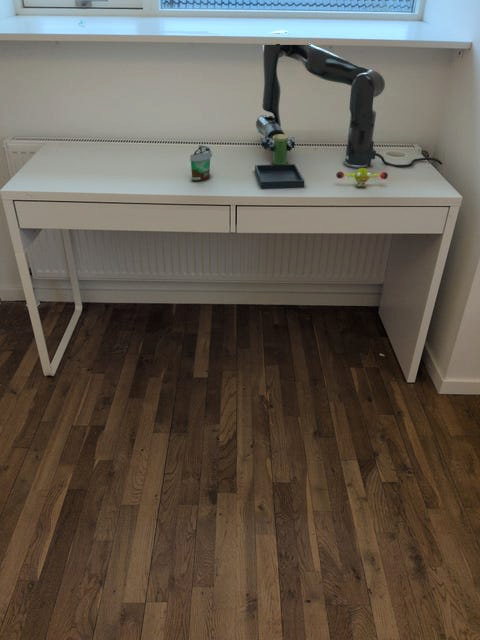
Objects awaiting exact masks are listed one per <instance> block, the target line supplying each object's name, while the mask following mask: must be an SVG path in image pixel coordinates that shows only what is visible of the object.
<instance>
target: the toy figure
mask: <svg viewBox="0 0 480 640" xmlns="http://www.w3.org/2000/svg"><path fill="white" fill-rule="evenodd" d="M344 177H347V178H353V179H354V180H355V182H356V183H357V185H356V187H357V188H360V184H361V188H365V184H366V183H367V182H368V181H369V179H371V178H377V177H380V179H381V180H386V179H388V177H389V174H388V173H387V172H386V171H383V172H381V173H380V174H378V173H370V171H369V169H367V167H365V168H357V169H356V171H354V173H347V174H345V173H344V172H343V171H337V173H336V178H337V179H343V178H344Z"/></svg>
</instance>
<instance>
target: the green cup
mask: <svg viewBox="0 0 480 640" xmlns="http://www.w3.org/2000/svg"><path fill="white" fill-rule="evenodd" d="M288 139H290V137H289V135H288V134H285V133H284V134H276V135H274V136H273V145H274V152H272V160H271V161H272V164H273V165H279V164H288V152H289V151H288Z"/></svg>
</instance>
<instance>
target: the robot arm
mask: <svg viewBox="0 0 480 640" xmlns="http://www.w3.org/2000/svg"><path fill="white" fill-rule="evenodd" d="M288 32H289V31H287V30H284V29H283V30H282V29H281V30H278V31H277V30H276V31H273V32H270V33H269V34H280V33H288ZM283 57H286V58H290V59H293V60H296V61H298V62H299V63H301V64H302V66H303V67H304V69H305V70H306V71H307V72H308V73H310V74H311V75H313V76H315V77H317V78H318V79H321V80H325V81H328V82H331V83H332V82H333V83H338V84H344V85H348V86H350V95H349V113H350V117H349V124H348V125H349V126H348V133H347V140H346V141H347V142H346V150H345V154H344V163H343V164H344V165H345V166H347V167H348V168H352V169H360V168H368V167H371V163H372V160H376V157H378V158H380V159H381V162H382V163H383V164H385V165H387V166H390V167H394V168H408V167H411V166H412V165H413V164H414V163H416V162H421V161H422V162H423V161H434V162H437V163H438V164H439V165H443V162H442V161H441V160H440V159H438V158H436V157H420V158H413V159H412V160H411V161H410V163H406V164H395V163H390V162H388V161H386V160H385V158H384V157H383V155H381V154H379V153H377V150H375V148H374V145H375V141H374V140H373V138H374V132H375V126H376V118H377V111H376V110H375V109H374V106H373V105H374V98H377V97H379V96H380V95H381V94H382V93H383V92H384V90H385V88H386V82H385V78H384V77H383V75H382V74H381V73H380V72H378V71H376V70H374V69H371V68H368V67H367V68H366V67H363V66H360V65H357V64H354V63H353V62H351V61H349V60H347V59H345V58H344V57H343V58H342V57H341V56H339V55H337V54H335V53H332V52H330V51H328V50H326V49H324V48H321V47H318V46H316V45H314V44H311V45H280V44H276V45H263V44H262V58H263V60H262V61H263V94H262V102H261V107H262V110H263V111H265V112H268V113H270V114H272V115H269V116H267V114H266V115H264V114H261V115H259V116H258V117H257V118H256V120H257V121H255V128H256V130H257V132H258V133H259V134H260V135H262V136H263V137H260V138H259V145H260V146H261V147H262V149H264V150H267V149H268V150H269V151H271V152H272V153H273V152H274V145H273V136H274V135H276V134H285V131H283V129H282V128H281V127H282V124H281V117H280V102H281V101H280V100H281V83H280V81H279V77H278V64H279V59H280V58H283ZM295 143H296V140H295V137H294V136H292V137H291V138H290V137H289V138H288V151H287V152H291V151H292V149H295Z"/></svg>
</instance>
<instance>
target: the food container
mask: <svg viewBox="0 0 480 640" xmlns="http://www.w3.org/2000/svg"><path fill="white" fill-rule="evenodd" d="M189 156H190V157H189V161H190V169H191V170H190V171H191V182H193V183H199V182H204V181H208V180H209V179H210V174H211V173H210V171H211V158H212V157H213V152H212V150H211V147H209V146H206V145H203V144H198V149H197V150H195V151H194V153H193V154H190V155H189Z"/></svg>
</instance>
